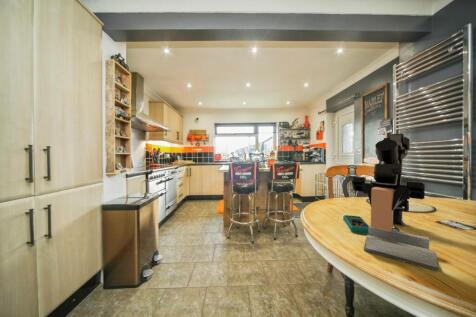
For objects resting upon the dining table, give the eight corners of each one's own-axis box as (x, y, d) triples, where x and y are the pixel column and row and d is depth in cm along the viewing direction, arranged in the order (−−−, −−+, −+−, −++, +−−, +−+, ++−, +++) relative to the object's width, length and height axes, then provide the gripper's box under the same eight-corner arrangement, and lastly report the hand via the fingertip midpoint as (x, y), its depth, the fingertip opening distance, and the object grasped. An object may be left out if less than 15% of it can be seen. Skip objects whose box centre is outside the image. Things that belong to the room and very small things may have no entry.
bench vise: (368, 230, 72) (368, 219, 72) (425, 242, 62) (426, 229, 62) (363, 250, 57) (364, 236, 57) (439, 271, 47) (439, 254, 46)
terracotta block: (373, 222, 62) (374, 186, 61) (392, 227, 58) (393, 188, 58) (370, 227, 58) (371, 188, 58) (390, 231, 55) (391, 191, 54)
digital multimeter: (351, 233, 70) (351, 226, 70) (342, 220, 84) (342, 214, 84) (373, 236, 67) (374, 228, 67) (361, 222, 81) (361, 215, 81)
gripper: (353, 154, 67) (343, 188, 60) (425, 155, 53) (424, 198, 46) (358, 174, 73) (349, 206, 65) (424, 179, 59) (423, 220, 52)
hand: (381, 207), depth 57 cm, fingers closed on terracotta block, 5 cm apart
